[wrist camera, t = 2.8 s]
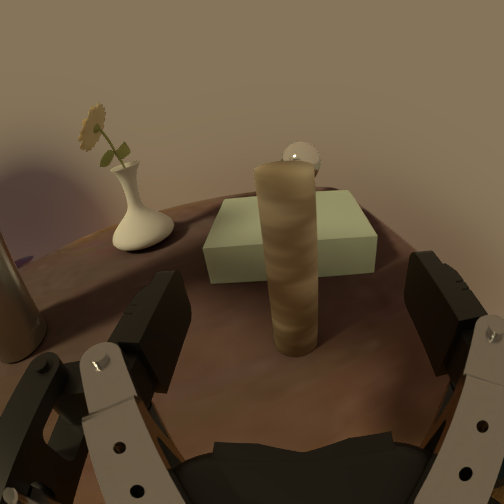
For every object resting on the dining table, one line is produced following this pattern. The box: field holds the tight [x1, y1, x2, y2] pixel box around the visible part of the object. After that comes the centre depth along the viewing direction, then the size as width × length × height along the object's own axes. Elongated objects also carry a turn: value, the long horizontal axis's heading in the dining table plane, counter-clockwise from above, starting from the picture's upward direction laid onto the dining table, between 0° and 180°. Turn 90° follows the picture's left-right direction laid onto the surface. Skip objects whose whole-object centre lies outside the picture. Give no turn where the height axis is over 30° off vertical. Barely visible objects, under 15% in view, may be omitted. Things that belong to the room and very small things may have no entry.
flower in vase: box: [78, 103, 174, 251], centre depth 44 cm, size 13×11×25 cm
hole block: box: [203, 190, 377, 284], centre depth 42 cm, size 20×16×5 cm
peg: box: [254, 161, 318, 357], centre depth 23 cm, size 4×4×16 cm
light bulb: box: [281, 142, 321, 177], centre depth 52 cm, size 7×7×12 cm
